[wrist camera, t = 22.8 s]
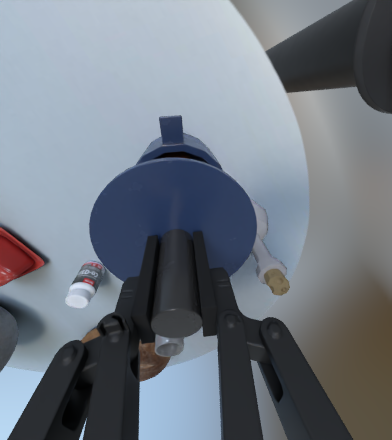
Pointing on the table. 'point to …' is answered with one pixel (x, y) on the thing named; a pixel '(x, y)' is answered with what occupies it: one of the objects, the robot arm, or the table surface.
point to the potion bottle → (268, 257)
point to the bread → (141, 357)
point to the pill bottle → (85, 285)
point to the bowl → (7, 336)
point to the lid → (173, 232)
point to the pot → (177, 143)
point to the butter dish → (15, 258)
